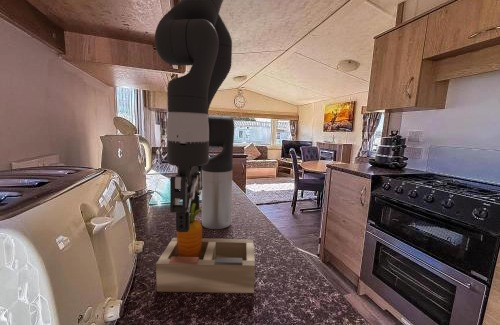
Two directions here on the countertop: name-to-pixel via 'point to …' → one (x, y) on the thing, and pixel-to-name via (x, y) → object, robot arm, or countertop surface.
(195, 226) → the carrot
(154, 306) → the countertop surface
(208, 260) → the frame
